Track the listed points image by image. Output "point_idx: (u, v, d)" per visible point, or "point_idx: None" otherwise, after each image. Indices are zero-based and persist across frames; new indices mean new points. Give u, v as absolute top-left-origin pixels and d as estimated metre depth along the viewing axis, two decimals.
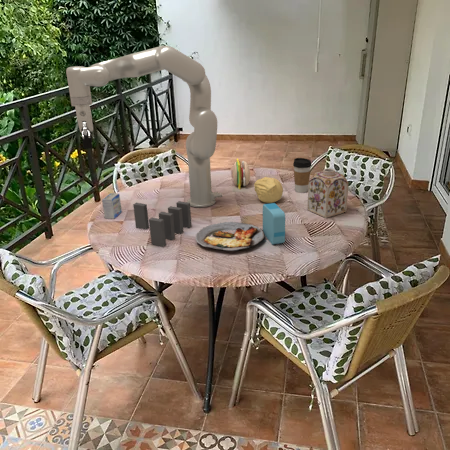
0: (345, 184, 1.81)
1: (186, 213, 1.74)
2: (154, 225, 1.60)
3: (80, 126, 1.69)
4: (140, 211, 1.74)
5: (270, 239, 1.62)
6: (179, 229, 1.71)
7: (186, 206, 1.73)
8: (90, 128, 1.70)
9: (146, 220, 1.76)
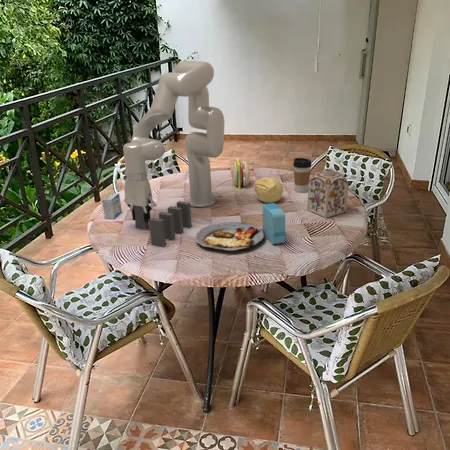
0: (345, 184, 1.81)
1: (186, 213, 1.74)
2: (154, 225, 1.60)
3: None
4: (140, 211, 1.74)
5: (270, 239, 1.62)
6: (179, 229, 1.71)
7: (186, 206, 1.73)
8: None
9: None
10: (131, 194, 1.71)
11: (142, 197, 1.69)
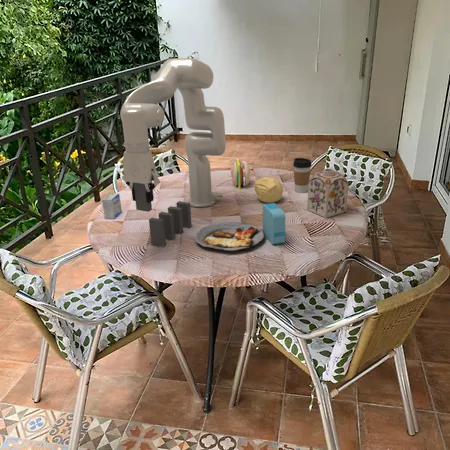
0: (345, 184, 1.81)
1: (186, 213, 1.74)
2: (154, 225, 1.60)
3: None
4: (141, 190, 1.49)
5: (270, 239, 1.62)
6: (179, 229, 1.71)
7: (186, 206, 1.73)
8: None
9: None
10: (131, 169, 1.45)
11: (143, 172, 1.43)
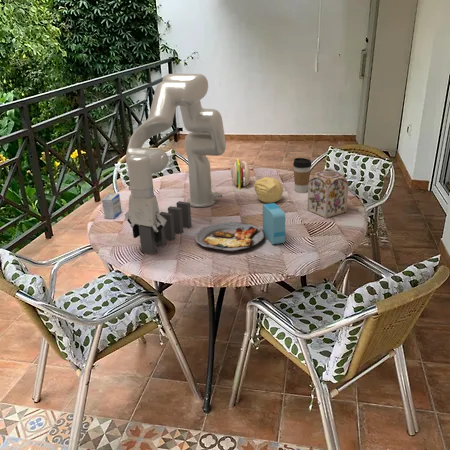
0: (345, 184, 1.81)
1: (186, 213, 1.74)
2: None
3: None
4: (146, 234, 1.55)
5: (270, 239, 1.62)
6: (179, 229, 1.71)
7: (186, 206, 1.73)
8: None
9: (153, 243, 1.56)
10: (136, 212, 1.51)
11: (148, 215, 1.49)
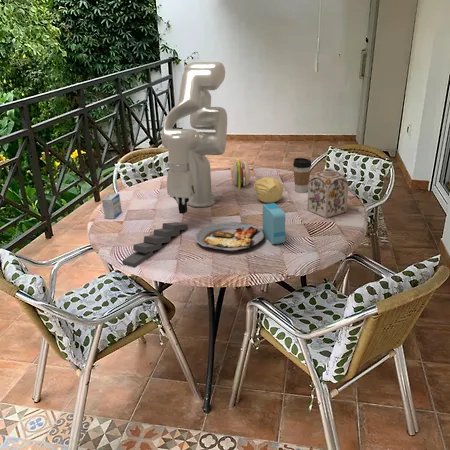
0: (345, 184, 1.81)
1: (177, 229, 1.70)
2: None
3: None
4: None
5: (270, 239, 1.62)
6: None
7: (173, 230, 1.68)
8: None
9: (146, 258, 1.54)
10: (174, 185, 1.69)
11: (185, 188, 1.67)
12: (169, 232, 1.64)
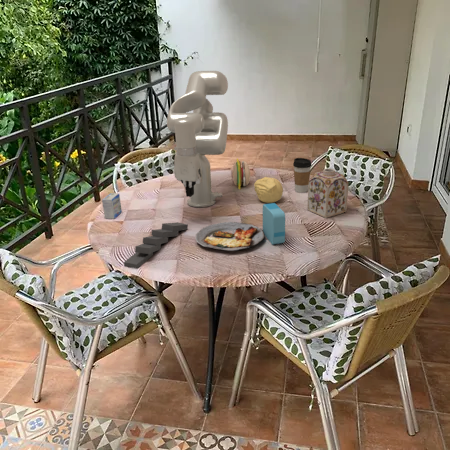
0: (345, 184, 1.81)
1: None
2: None
3: None
4: None
5: (270, 239, 1.62)
6: None
7: (172, 230, 1.68)
8: None
9: (147, 259, 1.53)
10: (181, 169, 1.72)
11: (192, 171, 1.70)
12: (167, 233, 1.64)
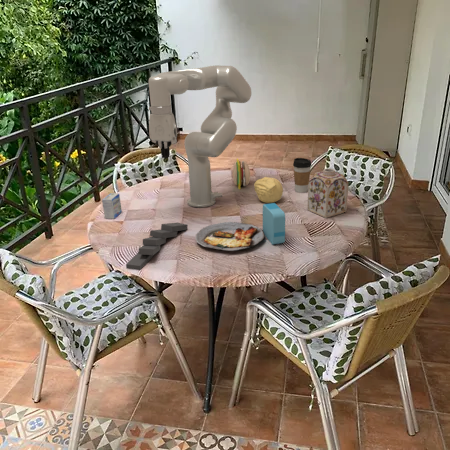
0: (345, 184, 1.81)
1: (176, 230, 1.70)
2: None
3: None
4: None
5: (270, 239, 1.62)
6: (172, 236, 1.69)
7: None
8: None
9: (148, 260, 1.52)
10: (156, 129, 1.71)
11: (167, 130, 1.70)
12: (166, 233, 1.63)
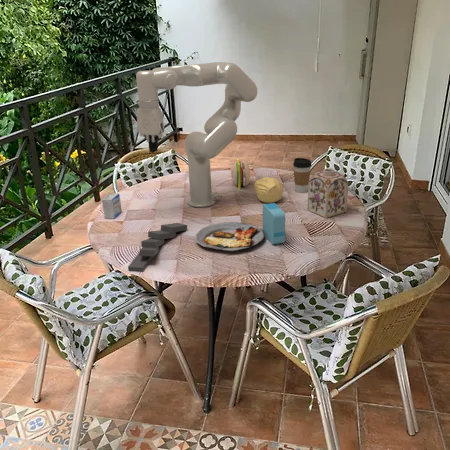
0: (345, 184, 1.81)
1: None
2: None
3: None
4: None
5: (270, 239, 1.62)
6: (171, 237, 1.68)
7: (171, 232, 1.67)
8: None
9: (149, 261, 1.51)
10: (143, 123, 1.74)
11: (154, 125, 1.72)
12: (164, 234, 1.63)
